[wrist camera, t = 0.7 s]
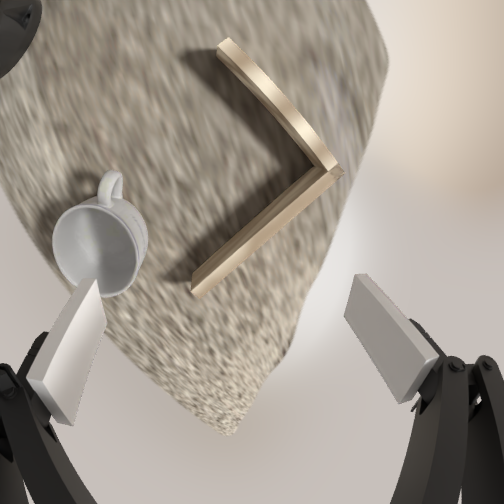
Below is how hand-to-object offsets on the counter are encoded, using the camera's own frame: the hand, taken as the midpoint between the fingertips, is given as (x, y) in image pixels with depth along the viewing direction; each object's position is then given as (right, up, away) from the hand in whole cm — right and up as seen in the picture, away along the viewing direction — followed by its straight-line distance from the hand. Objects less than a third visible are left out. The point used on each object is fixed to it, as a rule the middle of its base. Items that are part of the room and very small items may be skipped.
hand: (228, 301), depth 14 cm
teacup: (-16, +7, +19) cm, 26 cm away
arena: (-4, +12, +18) cm, 22 cm away
